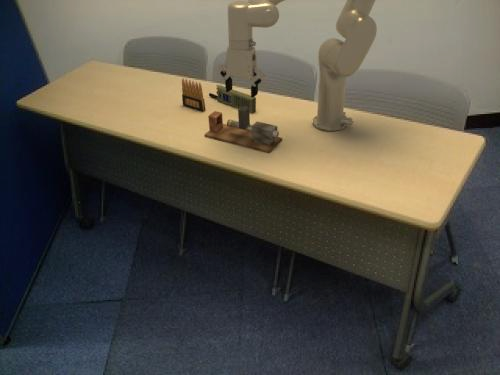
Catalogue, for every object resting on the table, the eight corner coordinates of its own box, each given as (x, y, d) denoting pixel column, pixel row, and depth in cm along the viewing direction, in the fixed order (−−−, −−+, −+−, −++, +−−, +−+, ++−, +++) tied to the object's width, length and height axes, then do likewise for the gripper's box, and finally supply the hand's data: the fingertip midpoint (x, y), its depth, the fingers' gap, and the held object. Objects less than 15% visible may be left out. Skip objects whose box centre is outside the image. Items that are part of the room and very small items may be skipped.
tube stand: (282, 140, 170) (282, 122, 166) (269, 153, 163) (269, 135, 159) (219, 125, 181) (217, 107, 177) (204, 136, 174) (203, 119, 170)
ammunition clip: (205, 110, 192) (203, 82, 185) (202, 112, 191) (200, 83, 184) (185, 104, 197) (182, 76, 190) (182, 105, 196) (179, 78, 189)
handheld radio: (251, 115, 188) (206, 98, 201) (257, 112, 190) (212, 96, 203) (251, 99, 184) (206, 83, 198) (257, 96, 186) (211, 81, 200)
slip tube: (279, 135, 166) (279, 113, 161) (275, 140, 163) (275, 118, 158) (231, 123, 174) (230, 103, 169) (226, 128, 171) (224, 107, 166)
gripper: (270, 43, 151) (269, 94, 161) (223, 35, 158) (225, 84, 168) (259, 51, 145) (258, 102, 155) (211, 42, 152) (214, 92, 162)
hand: (241, 93), depth 161 cm, fingers open, 9 cm apart
